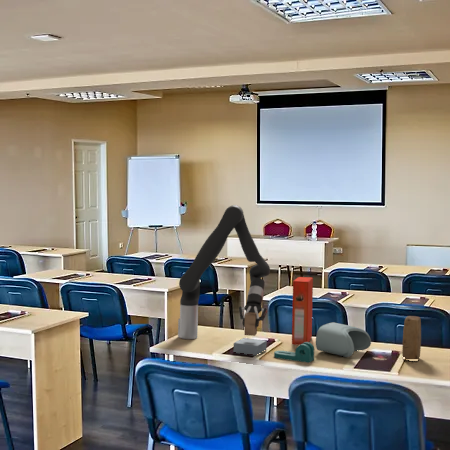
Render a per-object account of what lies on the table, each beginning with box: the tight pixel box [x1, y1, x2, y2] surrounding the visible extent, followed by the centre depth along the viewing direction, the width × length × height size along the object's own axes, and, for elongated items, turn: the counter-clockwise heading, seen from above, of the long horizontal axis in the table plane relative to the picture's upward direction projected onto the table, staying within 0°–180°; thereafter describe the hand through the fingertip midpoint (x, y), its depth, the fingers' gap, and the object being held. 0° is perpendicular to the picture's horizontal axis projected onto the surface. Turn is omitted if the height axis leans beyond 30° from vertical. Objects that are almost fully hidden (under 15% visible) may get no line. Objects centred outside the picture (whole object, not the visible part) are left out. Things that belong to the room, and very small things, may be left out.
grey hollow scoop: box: [315, 321, 372, 358], centre depth 310 cm, size 22×19×13 cm
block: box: [401, 315, 422, 360], centre depth 301 cm, size 11×8×20 cm
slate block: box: [232, 337, 268, 356], centre depth 309 cm, size 12×12×5 cm
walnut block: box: [244, 312, 258, 337], centre depth 308 cm, size 5×5×10 cm
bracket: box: [273, 341, 315, 364], centre depth 298 cm, size 18×7×8 cm, turn 64°
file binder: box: [291, 276, 314, 346], centre depth 332 cm, size 8×17×32 cm, turn 165°
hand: (250, 326), depth 307 cm, fingers closed on walnut block, 5 cm apart
